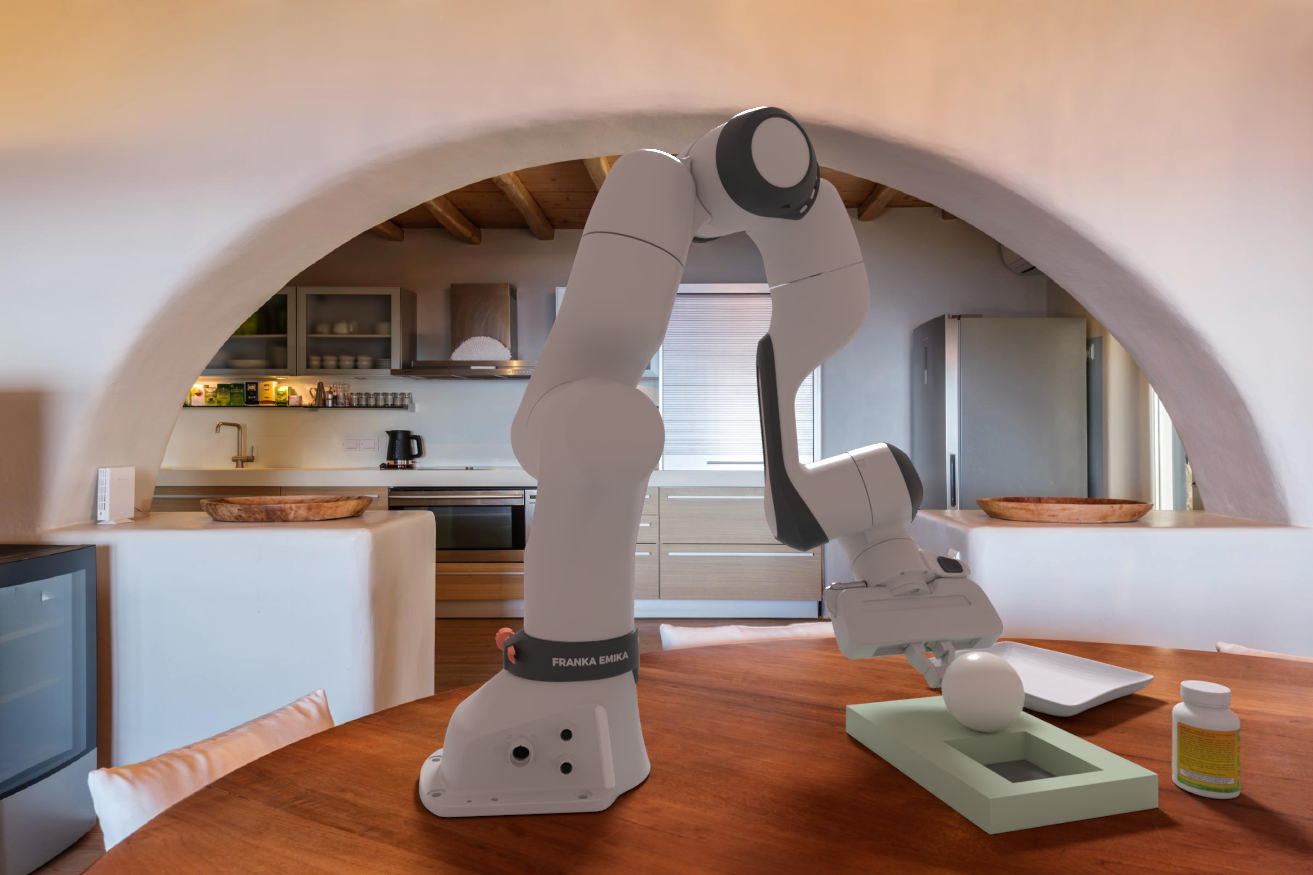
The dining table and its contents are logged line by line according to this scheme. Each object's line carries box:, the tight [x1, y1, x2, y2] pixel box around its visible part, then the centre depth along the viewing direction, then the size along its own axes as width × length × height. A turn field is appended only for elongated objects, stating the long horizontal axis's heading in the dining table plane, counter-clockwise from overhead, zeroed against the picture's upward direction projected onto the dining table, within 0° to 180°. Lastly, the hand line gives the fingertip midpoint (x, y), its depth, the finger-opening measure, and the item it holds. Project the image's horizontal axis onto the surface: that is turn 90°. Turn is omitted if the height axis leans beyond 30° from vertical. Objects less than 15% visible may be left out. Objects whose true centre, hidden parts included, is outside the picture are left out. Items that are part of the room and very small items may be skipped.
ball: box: [941, 652, 1025, 732], centre depth 82 cm, size 8×8×8 cm
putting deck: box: [845, 695, 1159, 835], centre depth 80 cm, size 18×24×3 cm
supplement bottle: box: [1171, 679, 1241, 800], centre depth 75 cm, size 5×5×10 cm
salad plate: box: [928, 640, 1155, 717], centre depth 105 cm, size 21×21×3 cm
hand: (945, 684), depth 86 cm, fingers closed
